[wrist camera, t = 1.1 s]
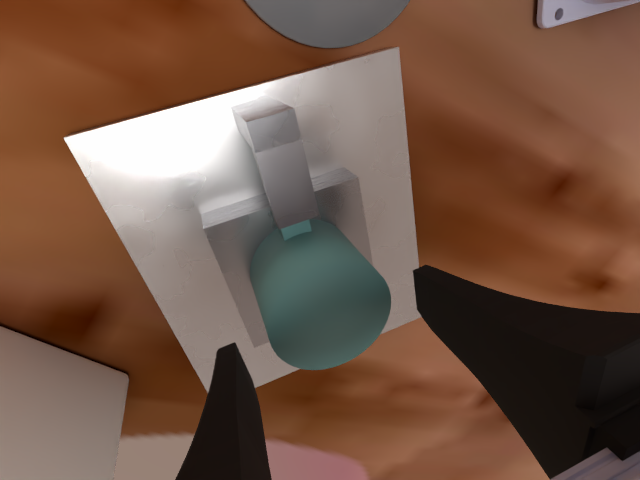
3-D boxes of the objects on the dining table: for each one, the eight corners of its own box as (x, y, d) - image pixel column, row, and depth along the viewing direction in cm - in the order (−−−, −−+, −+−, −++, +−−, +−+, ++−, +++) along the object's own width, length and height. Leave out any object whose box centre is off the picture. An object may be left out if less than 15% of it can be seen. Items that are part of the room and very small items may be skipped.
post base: (390, 46, 17) (460, 44, 13) (416, 308, 25) (465, 360, 21) (69, 134, 14) (22, 167, 10) (213, 394, 22) (221, 474, 18)
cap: (329, 139, 15) (371, 163, 12) (358, 289, 19) (397, 339, 16) (209, 176, 14) (219, 214, 11) (267, 326, 18) (287, 387, 15)
